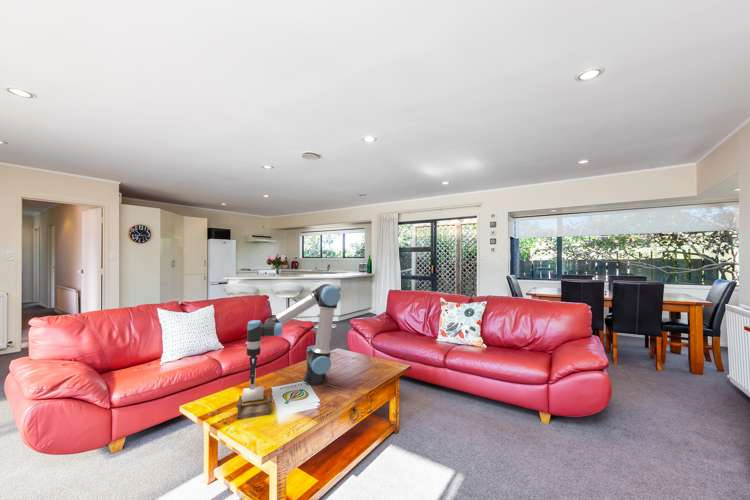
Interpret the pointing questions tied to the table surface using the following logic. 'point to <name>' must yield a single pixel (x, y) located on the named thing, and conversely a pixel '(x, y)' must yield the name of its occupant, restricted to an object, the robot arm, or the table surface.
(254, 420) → the table surface
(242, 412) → the holder
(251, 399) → the roll
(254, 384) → the robot arm
